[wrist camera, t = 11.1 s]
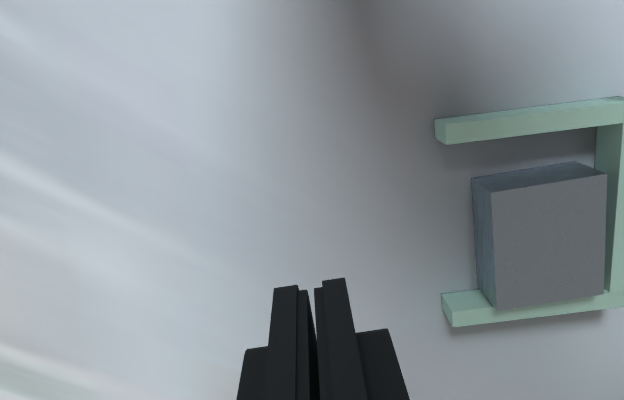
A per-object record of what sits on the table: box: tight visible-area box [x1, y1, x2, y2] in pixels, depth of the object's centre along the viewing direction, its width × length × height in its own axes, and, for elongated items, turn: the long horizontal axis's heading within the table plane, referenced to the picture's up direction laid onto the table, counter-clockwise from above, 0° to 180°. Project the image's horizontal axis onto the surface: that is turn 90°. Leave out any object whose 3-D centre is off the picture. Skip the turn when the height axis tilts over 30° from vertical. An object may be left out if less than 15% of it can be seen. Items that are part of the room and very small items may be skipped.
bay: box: [434, 96, 624, 327], centre depth 37 cm, size 17×14×3 cm
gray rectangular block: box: [471, 161, 607, 311], centre depth 37 cm, size 10×8×4 cm
